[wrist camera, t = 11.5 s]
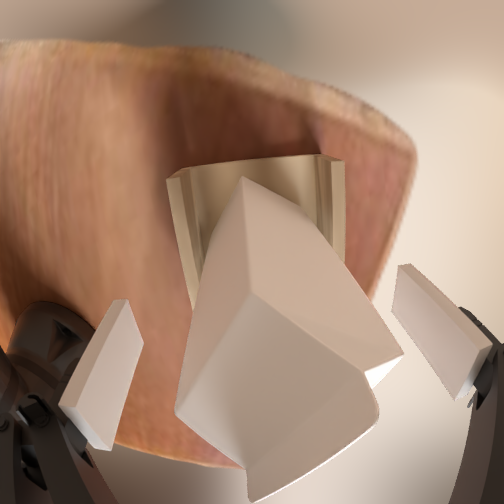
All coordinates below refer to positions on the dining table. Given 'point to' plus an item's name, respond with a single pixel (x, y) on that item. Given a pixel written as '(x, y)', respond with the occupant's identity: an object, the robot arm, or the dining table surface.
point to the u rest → (267, 175)
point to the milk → (279, 345)
